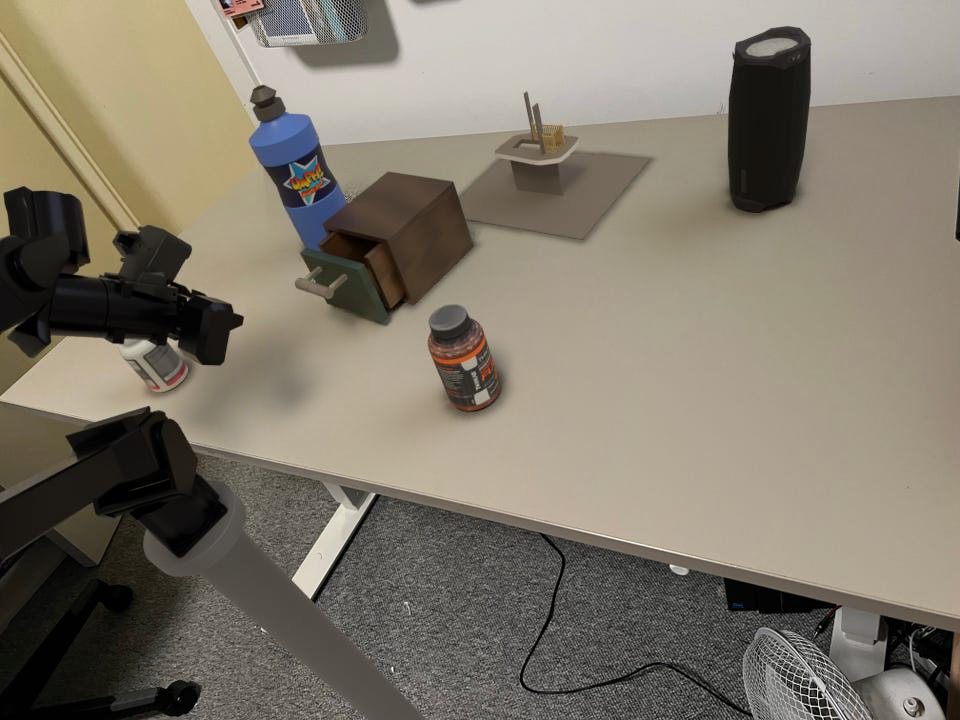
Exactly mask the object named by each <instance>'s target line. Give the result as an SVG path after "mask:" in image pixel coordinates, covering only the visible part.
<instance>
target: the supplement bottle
mask: <svg viewBox="0 0 960 720" xmlns="http://www.w3.org/2000/svg"><path fill="white" fill-rule="evenodd" d="M428 326H429V328H430V333H429V335H428V338H427V348H428V352H429V353H430V356H431V358H432V361H433V363H434V366H435V368H436V371H437V373H438V375H439V379H440V380H441V383H442V385H443V388H444V389H445V390H444V391H445V392H446V395H447V396H448V399H449V401H450V403H451V404H452V405H453V407H455V408H456V409H458V410H462V411H468V412H470V411H477V410H482V409H483V408H486V407H487V406H489V405H490V404H492V403H493V402H494V401H495V400H496V398H497V397H498V395H499V393H500V390H501V381H500V377H499V374H498V371H497V369H496V365H495V362H494V359H493V356H492V354H491V349H490V346H489V343H488V339H487V338H486V334H485V331H484V329H483V327H482V325H481V324H480V322H478V321H477V320H476V319H474V318H471V317H470V316H469V313H468V311H467V309H466V307H465V306H463V305H460V304H457V303H451V304H446V305H443V306H440V307H439V308H437V309H435V310H434V311H433V312H432V313H431V314H430V316H429V317H428Z"/></svg>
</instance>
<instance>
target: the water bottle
mask: <svg viewBox="0 0 960 720" xmlns="http://www.w3.org/2000/svg"><path fill="white" fill-rule="evenodd" d="M249 103H251V104H252V105H254V106H253V107H252V111H253V113H254V115H255V118H256V120H257V121H259V126H258V127H257V128H256V129H255V131H253V133H252V134H251V135H250V136H249V138H248V144H249V146H250V148H251V149H252V151H253V153H254V155H255V158H256V159H257V161H258V162H259V164H260V165H261V166H262V167H263V169H264V170H265V172H266V174H268V176H269V178H270V179H271V181H272V182H273V184H274V185H275V187H276V189H277V192H278V195H279V198H280V200H281V204H282V206H283V208H284V210H285V212H286V214H287V215H288V218H289V219H290V221H291V223H292V226H293V227H294V229H295V231H296V232H297V234H298V237H299V238H300V240H301V242H302V244H303V246H304V249H305V248H309V249H313V250H316V251H320V252H321V250H320V248H319V246H318V243H319V242H320V241H322V240H323V239H324V238H325V237H327V236H328V235H327V233H326V231H325V229H324V227H323V225H322V224H323V223H324V222H325V221H326V220H328V219H329V218H330V217H331V216H333V215H334V214H335V213H337V212H338V211H339V210H340V209H342V208H343V207H344V206H345V205H347V204H348V202H347V199H346V197H345V195H344V193H343V191H342V188H341V187H340V184H339V182H338V180H337V179H336V177H335V176H334V175H333V173H332V171H331V169H330V168H329V166H328V164H327V162H326V158H325V154H324V152H323V149H322V146H321V142H320V137H319V135H318V132H317V130H316V127H315V125H314V124H313V121H312V119H311V117H310V115H308V114H304V113H290V112H288V111H286V110H287V107H286V105H285V104H284V101H283V99H282V97H280V96H277V90H276V89H274V88H272V87H270V86H268V85H265V84H259V85H258V86H255V87H254V88H253V89H252V92H251V95H250V98H249Z"/></svg>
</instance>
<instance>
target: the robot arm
mask: <svg viewBox="0 0 960 720" xmlns="http://www.w3.org/2000/svg"><path fill="white" fill-rule="evenodd" d="M2 194H3V195H2V196H3V203H4V207H5V211H6V214H7V221H8V231H9V235H6V236H3V237H0V336H1V335H2V334H3V333H5V332H6V331H8V330H10V329H11V331H10V332H9V333H8V334H7V335H6V339H7V340H8V341H9V342H12V343H14V344H15V345H16V346H17V347H18V348H19V350H20V351H21V352H22V353H23V354H24V355H26V357H28V358H29V359H35V358H37V357H38V356H39V355H40V354H41V353H42V352H43V351H44V350H45V349H46V348H48V347H49V346H50V345H51V344H52V337H53V336H54V337H68V338H69V337H71V338H72V337H73V338H89V339H90V338H92V339H103V340H105V341H107V342H109V343H111V344H113V345H119V344H124V340H125V339H130V340H147V341H148V340H150V341H148V342H150V343H152V344H154V345H156V346H166V345H167V342H168V339H169V340H172V341H174V342H177V349H178V350H179V351H180V352H181V354H182V355H183V356H184V357H185V358H187V359H189V360H191V361H193V362H195V363H197V364H199V365H201V366H214V367H221V366H222V365H224V363H225V361H226V356H227V350H228V344H229V340H230V334H231V331H233V330H235V329H237V328H240V327H242V326H243V325H244V320H245V317H244V315H242V314H240V313H236V312H235V311H234V308H233V304H232V303H230V302H227V301H225V300H223V299H220V298H216V297H211V296H208V295H207V294H206V293H204V292H201V291H199V290H197V289H194V288H191V290H189V288H188V287H187V286H186V285H183V284H181V283H178V282H176V281H175V279H176V278H177V276H178V274H179V272H180V270H181V269H182V267H183V265H184V263H185V261H186V260H188V259H189V258H190V257H191V254H192V253H193V247H192V245H191V244H189V243H188V242H186V241H184V240H183V239H181V238H180V237H178V236H176V235H174V234H173V233H172V232H170V231H168V230H166V229H164V228H161V227H158V226H155V225H152V224H146V225H144V226H141V225H139V226H138V227H137V230H138V231H139V232H138V231H132V230H117V232H116V234H115V236H114V237H113V239H112V241H111V243H112V245H113V246H114V247H115V250H117V252H119V254H120V256H121V257H120V258H119V262H121V263H122V265H121V267H120V269H119V270H118V273H117V272H108V271H104V274H100V273H99V274H98V276H89V275H82V274H77V273H78V272H79V271H80V268H81V267H83V266H85V265H88V264H91V263H92V261H91V254H90V248H89V241H88V235H87V233H88V232H87V227H86V220H85V214H84V207H83V203H82V201H81V200H80V199H79V198H78V197H77V196H75V195H73V194H72V193H64V192H59V191H55V190H33V189H30V188H29V187H27V186H25V185H23V186H19V187H17V188H13V189H10V190H7V191H4V192H3V193H2ZM12 328H13V329H12ZM64 438H65V439H66V441H67V443H68V444H69V445H70V453H69V457H67V458H65V459H64V460H61V461H60V462H57V463H56V464H53V465H52V466H49V467H48V468H45V469H44V470H42V471H40V472H38V473H36V474H34V475H32V476H31V477H29V478H27V479H24V480H22V481H21V482H19V483H17V484H15V485H13V486H11V487H8V488H7V489H5V490H3V491H1V492H0V569H1V568H2V564H3V563H4V562H5V561H6V560H8V559H9V558H11V557H12V556H14V555H15V554H17V553H19V552H20V551H21V550H23V549H24V548H26V547H27V546H29V545H30V544H32V543H33V542H35V541H36V540H38V539H39V538H41V537H42V536H44V535H46V534H47V533H49V532H50V531H51V530H53V529H54V528H56V527H58V526H59V525H60V524H62V523H64V522H65V521H67V520H68V519H70V518H71V517H73V516H74V515H76V514H77V513H79V512H80V511H82V510H84V509H85V508H86V507H87V506H90V505H91V504H92V506H93V510H94V513H95V516H97V517H100V518H103V519H106V520H109V521H111V520H114V519H116V518H117V517H120V516H123V515H127V514H129V515H130V517H132V518H133V519H134V520H135V521H137V522H138V523H139V524H140V525H141V526H143V528H145V530H146V529H147V530H148V531H149V532H150V533H151V534H152V535H153V536H154V537H155V538H156V539H157V540H158V541H160V542H161V543H162V544H163V545H164V546H165V547H166V548H167V549H168V550H169V551H171V552H172V553H173V554H174V555H175V556H176V557H177V558H182V557H184V556H185V555H186V554H187V553H188V552H189V551H190V550H191V549H192V548H193V547H194V546H195V545H196V544H197V543H198V542H199V541H200V540H201V539H202V538H203V537H204V536H205V535H206V534H207V533H208V532H209V531H210V530H211V529H212V528H213V527H214V526H215V525H216V524H217V523H218V522H219V521H220V519H221V518H222V517H223V516H224V515H225V514H226V513H227V512H228V508H227V507H226V506H225V505H223V504H222V503H221V502H219V501H218V499H219V498H220V495H219V494H218V493H217V492H216V491H215V490H214V489H213V488H212V487H211V486H210V485H209V484H208V483H207V482H206V481H207V480H206V479H205V478H204V477H203V476H202V475H201V474H199V473H198V472H197V469H198V464H199V459H198V456H197V455H196V453H195V451H194V449H193V447H192V446H191V444H190V442H189V440H188V438H187V436H186V435H185V433H184V431H183V429H182V427H181V426H180V424H179V423H178V422H177V421H176V420H175V419H173V418H169V417H168V416H167V413H166V412H165V411H163V410H159V409H158V410H153V411H152V409H151V406H150V405H146V406H143V407H140V408H136V409H134V410H130V411H127V412H124V413H120V414H116V415H114V416H110V417H108V418H107V417H106V418H104V419H100V420H97V421H94V422H91V423H88V424H85V426H84V427H83V428H82V429H81V430H79V431H75V432H73V433H68V434H65V435H64Z"/></svg>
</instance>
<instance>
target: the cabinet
mask: <svg viewBox="0 0 960 720" xmlns="http://www.w3.org/2000/svg"><path fill="white" fill-rule="evenodd" d="M459 197H460V196H459V194H458V190H457V187H456V184H455V182H454V181H453V180H446V179H441V178H433V177H429V176H428V177H426V176H420V175H415V174H408V173H401V172H395V171H386V172H385V173H384V174H383V175H382V176H380V177H379V178H378V179H377V180H376V181H373V183H372V184H370V185H369V186H368V187H366V188H365V189H364V190H363V191H361V192H360V193H359V194H358V195H356V196H355V197H354V198H353V199H352V200H350V201H349V202H347V205H345V206H344V207H343V208H342V209H340V210H339V211H338V212H337V213H335V214H334V215H333V216H331V217H330V218H329V219H328V220H326V221H325V222H324V223H323V224H322V225H323V227H324V229H325V231H326V233H327V235H329V234H330V233H331V232H333V231H336V232H340V233H344V234H348V235H352V236H356V237H360V238H364V239H368V240H372V241H376V242H380V243H384V244H385V246H386V248H387V251H388V253H389V255H390V258H391V260H392V262H393V265H394V267H395V270H396V272H397V274H398V277H399V279H400V281H401V284H402V286H403V288H404V291H405V293H406V295H405V296H404V297H403V298H401V299H400V300H399V302H403V303H406V304H409V305H413V306H414V305H416V304H417V303H418V302H419V301H420V300H421V299H422V298H423V297H424V296H425V295H426V294H427V293H428V292H429V291H430V290H431V289H432V288H434V286H435V285H436V284H437V283H438V282H439V281H440V280H441V279H442V278H443V277H444V276H445V275H447V273H448V272H450V271H451V270H452V269H453V267H455V266H456V264H458V263H459V262H460V261H461V260H462V259H463V258H464V257H465V256H466V255H467V254H468V253H469V252H470V251H471V250H472V249H473V248H474V243H473V240H472V237H471V233H470V230H469V226H468V224H467V219H465V217H464V214H463V210H462V207H461V204H460V201H459V199H460V198H459Z"/></svg>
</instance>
